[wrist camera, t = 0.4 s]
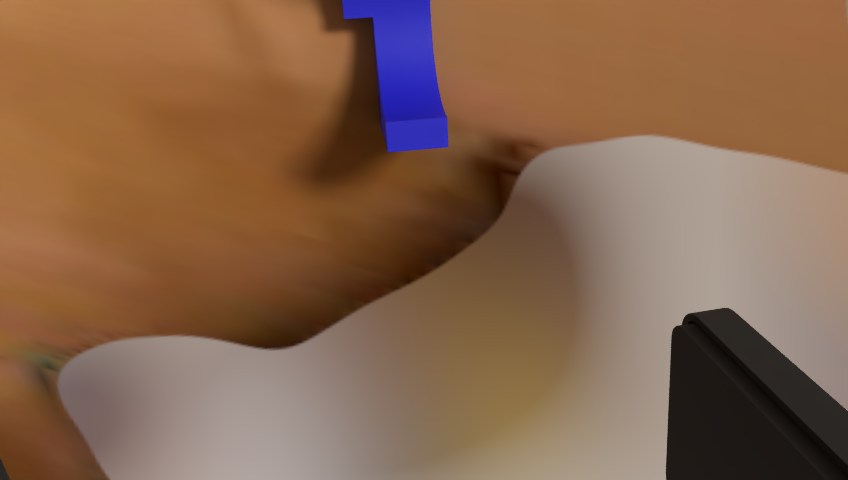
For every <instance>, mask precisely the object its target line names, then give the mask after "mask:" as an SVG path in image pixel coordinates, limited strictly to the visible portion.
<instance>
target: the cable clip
mask: <svg viewBox="0 0 848 480" xmlns="http://www.w3.org/2000/svg"><path fill="white" fill-rule="evenodd" d="M342 4H343V14H344V19H354V18H369V17H372V23H373V36H374V48H375V60H376V72H377V85H378V97H379V109H380V122H381V128H382V132H383V136H384V139H385V143H386V147H387V150H388V152H397V151H409V150H421V149H432V148H444V147H448V128H447V116H446V114H445V112H444V109H443V106H442V102H441V98H440V94H439V89H438V83H437V77H436V70H435V62H434V53H433V43H432V30H431V13H430V0H342Z"/></svg>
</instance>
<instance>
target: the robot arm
mask: <svg viewBox="0 0 848 480" xmlns="http://www.w3.org/2000/svg"><path fill="white" fill-rule="evenodd" d="M666 460H667V461H666V480H848V411H847V410H846V409H845V408H843V407H842V406H841V405H840V404H839V403H838V402H837V401H836V400H834V399H833V398H832V397H831V396H830V395H829V394H828V393H826V392H825V391H824V390H823V389H822V388H821V387H820V386H818V385H817V384H816V383H815V382H814V381H813V380H812V379H810V378H809V377H808V376H807V375H806V374H805V373H804V372H803V371H801V370H800V369H799V368H798V367H797V366H796V365H795V364H793V363H792V362H791V361H790V360H789V359H788V358H787V357H785V356H784V355H783V354H782V353H781V352H780V351H779V350H777V349H776V348H775V347H774V346H773V345H772V344H771V343H770V342H768V341H767V340H766V339H765V338H764V337H763V336H762V335H760V334H759V333H758V332H757V331H756V330H755V329H754V328H752V327H751V326H750V325H749V324H748V323H747V322H746V321H745V320H743V319H742V318H741V317H740V316H739V315H738V314H736V313H735V312H734V311H733V310H731V309H729V308H722V309H715V310H709V311H703V312H697V313H690V314H687V315H686V316H685V317H684V319H683V322H682V325H680V326H676V327H675V328H674V329H673V332H672V340H671V365H670V388H669V411H668V437H667V459H666ZM0 480H10V479H9V477H8V474H7V472H6V470H5V468H4V465H3V463H2V461H1V459H0Z"/></svg>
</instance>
